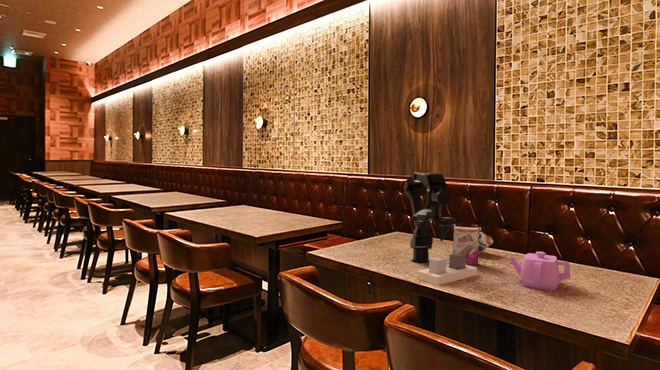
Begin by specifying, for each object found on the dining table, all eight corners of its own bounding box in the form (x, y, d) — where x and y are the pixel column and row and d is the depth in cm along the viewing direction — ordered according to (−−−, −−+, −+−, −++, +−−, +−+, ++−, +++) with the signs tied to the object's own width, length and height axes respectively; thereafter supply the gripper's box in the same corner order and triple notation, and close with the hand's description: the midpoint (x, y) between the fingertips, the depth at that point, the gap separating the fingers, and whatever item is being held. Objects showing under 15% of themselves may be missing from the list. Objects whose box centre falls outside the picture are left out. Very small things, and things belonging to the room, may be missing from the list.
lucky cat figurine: (479, 249, 212) (492, 228, 206) (486, 263, 202) (499, 241, 195) (453, 241, 211) (465, 219, 205) (458, 255, 200) (471, 233, 194)
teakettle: (537, 293, 143) (538, 258, 142) (505, 279, 159) (506, 248, 158) (576, 289, 147) (578, 256, 146) (541, 276, 163) (542, 246, 163)
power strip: (417, 279, 157) (417, 270, 157) (456, 270, 171) (456, 261, 171) (437, 286, 149) (437, 276, 149) (476, 276, 163) (477, 266, 162)
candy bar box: (452, 264, 182) (453, 227, 181) (452, 261, 187) (453, 226, 186) (478, 266, 178) (479, 229, 177) (478, 263, 183) (479, 227, 182)
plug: (428, 279, 157) (429, 258, 156) (437, 277, 159) (438, 257, 159) (437, 281, 153) (437, 260, 153) (445, 279, 156) (446, 259, 156)
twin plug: (449, 274, 163) (449, 254, 163) (456, 272, 166) (457, 253, 166) (457, 276, 160) (457, 256, 160) (465, 274, 163) (465, 255, 163)
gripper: (404, 201, 174) (403, 237, 175) (438, 206, 159) (437, 245, 159) (421, 200, 180) (421, 235, 181) (456, 204, 165) (455, 242, 166)
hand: (432, 239), depth 172 cm, fingers open, 9 cm apart
